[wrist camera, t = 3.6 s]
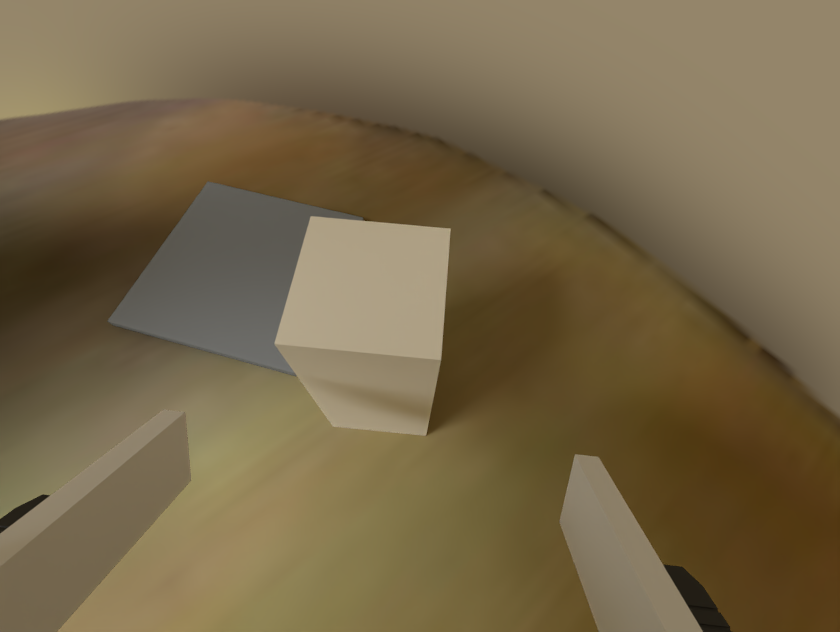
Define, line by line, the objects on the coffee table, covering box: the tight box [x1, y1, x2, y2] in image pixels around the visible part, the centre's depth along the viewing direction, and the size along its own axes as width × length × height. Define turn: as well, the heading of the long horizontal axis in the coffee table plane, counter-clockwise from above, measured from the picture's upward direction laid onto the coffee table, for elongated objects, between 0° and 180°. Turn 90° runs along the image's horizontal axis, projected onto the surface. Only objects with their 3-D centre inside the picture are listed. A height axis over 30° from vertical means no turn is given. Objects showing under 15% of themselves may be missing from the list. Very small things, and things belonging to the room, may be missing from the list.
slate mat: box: [107, 182, 364, 376], centre depth 31 cm, size 14×14×1 cm
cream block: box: [274, 216, 451, 436], centre depth 22 cm, size 6×6×13 cm
